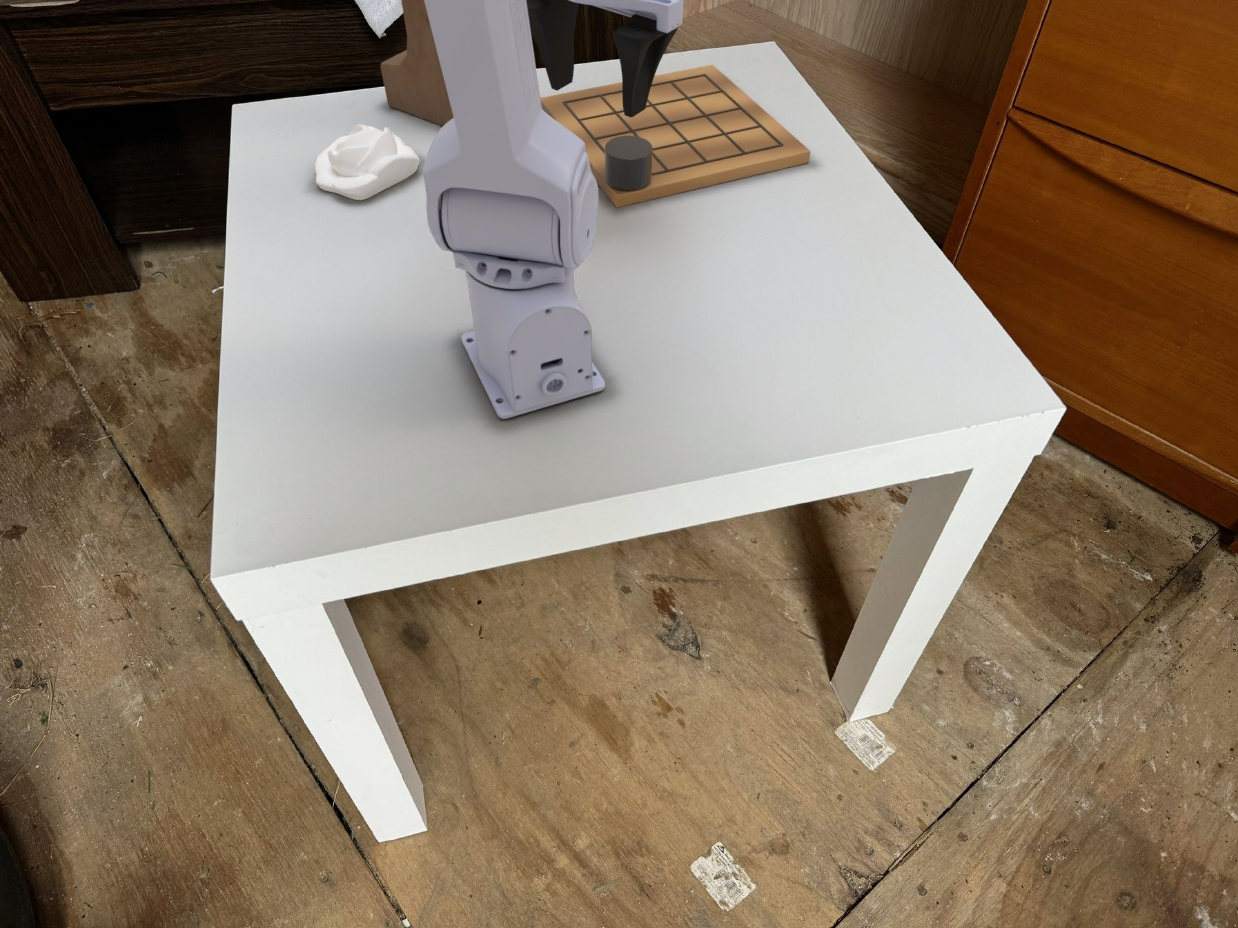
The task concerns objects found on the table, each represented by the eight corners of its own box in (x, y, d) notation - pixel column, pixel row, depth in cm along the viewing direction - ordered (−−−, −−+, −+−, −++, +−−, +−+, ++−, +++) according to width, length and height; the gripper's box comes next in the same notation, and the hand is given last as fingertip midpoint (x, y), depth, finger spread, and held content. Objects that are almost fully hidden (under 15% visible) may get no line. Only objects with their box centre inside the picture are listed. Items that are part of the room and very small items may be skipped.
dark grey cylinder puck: (659, 185, 79) (660, 153, 76) (616, 195, 78) (616, 163, 75) (639, 162, 81) (640, 131, 79) (597, 172, 80) (597, 141, 78)
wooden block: (386, 107, 91) (348, -92, 77) (416, 90, 93) (384, -105, 80) (453, 131, 88) (424, -72, 74) (482, 113, 90) (459, -86, 77)
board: (808, 163, 84) (811, 150, 83) (616, 208, 79) (616, 194, 78) (711, 75, 96) (712, 63, 95) (539, 109, 91) (538, 97, 90)
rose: (406, 158, 75) (291, 159, 75) (414, 204, 79) (305, 205, 79) (420, 103, 82) (315, 103, 82) (428, 147, 85) (327, 148, 85)
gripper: (712, -83, 62) (698, 105, 72) (553, -121, 68) (560, 58, 78) (654, -55, 58) (647, 139, 68) (490, -99, 64) (507, 87, 74)
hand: (597, 98), depth 73 cm, fingers open, 7 cm apart
